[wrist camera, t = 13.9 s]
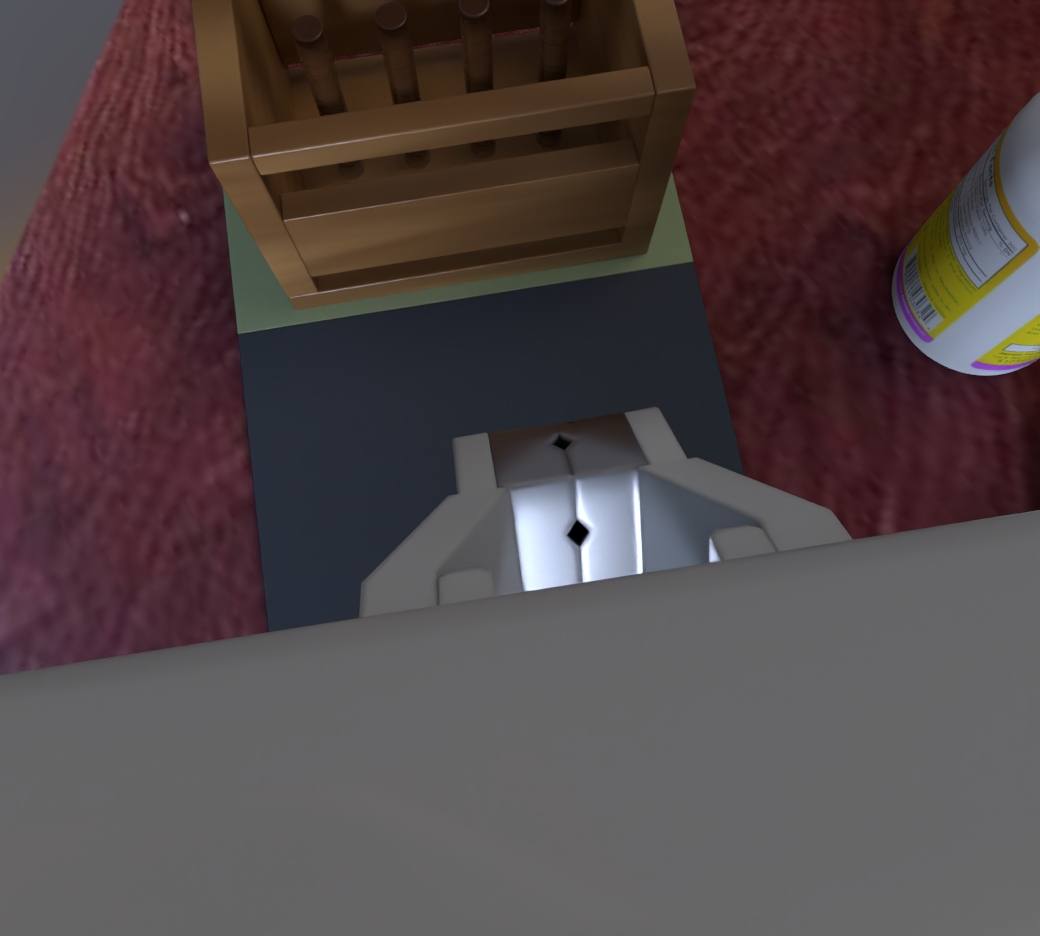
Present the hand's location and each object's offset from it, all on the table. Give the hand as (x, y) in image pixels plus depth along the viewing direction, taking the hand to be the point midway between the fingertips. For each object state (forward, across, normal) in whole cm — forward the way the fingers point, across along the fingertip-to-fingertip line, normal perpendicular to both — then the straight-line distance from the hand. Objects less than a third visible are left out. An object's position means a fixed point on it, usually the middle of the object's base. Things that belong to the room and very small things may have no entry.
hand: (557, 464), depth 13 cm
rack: (+26, 0, +1) cm, 26 cm away
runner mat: (+22, +1, +6) cm, 23 cm away
